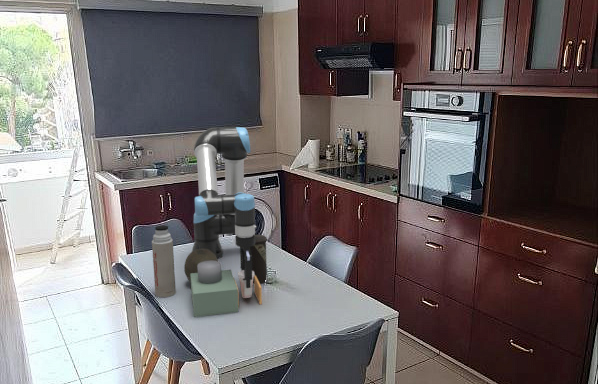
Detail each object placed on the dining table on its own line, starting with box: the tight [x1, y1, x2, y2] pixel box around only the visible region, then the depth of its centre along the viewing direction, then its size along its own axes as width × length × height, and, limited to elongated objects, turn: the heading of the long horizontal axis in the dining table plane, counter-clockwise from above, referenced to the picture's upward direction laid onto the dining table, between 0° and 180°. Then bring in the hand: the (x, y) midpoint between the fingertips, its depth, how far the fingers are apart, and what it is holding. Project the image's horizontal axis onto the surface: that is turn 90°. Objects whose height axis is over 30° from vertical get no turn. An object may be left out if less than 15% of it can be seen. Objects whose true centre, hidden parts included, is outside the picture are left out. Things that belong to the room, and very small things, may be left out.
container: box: [250, 234, 268, 285], centre depth 208 cm, size 9×9×20 cm
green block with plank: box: [190, 260, 263, 318], centre depth 189 cm, size 20×26×15 cm
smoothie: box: [237, 269, 255, 299], centre depth 191 cm, size 6×6×14 cm
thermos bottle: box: [151, 224, 177, 298], centre depth 195 cm, size 8×8×28 cm
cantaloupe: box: [183, 249, 219, 283], centre depth 206 cm, size 14×14×15 cm
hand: (246, 291), depth 192 cm, fingers closed on smoothie, 6 cm apart
